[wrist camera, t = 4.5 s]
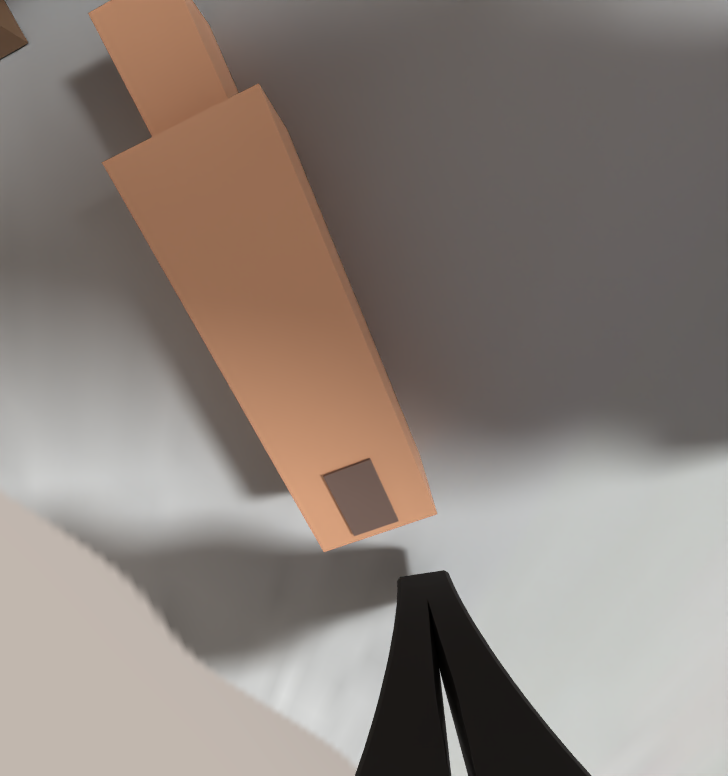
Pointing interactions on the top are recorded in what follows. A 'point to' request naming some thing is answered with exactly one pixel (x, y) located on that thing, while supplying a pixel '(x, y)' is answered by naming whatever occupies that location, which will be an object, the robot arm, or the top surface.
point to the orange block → (260, 274)
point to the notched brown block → (9, 32)
